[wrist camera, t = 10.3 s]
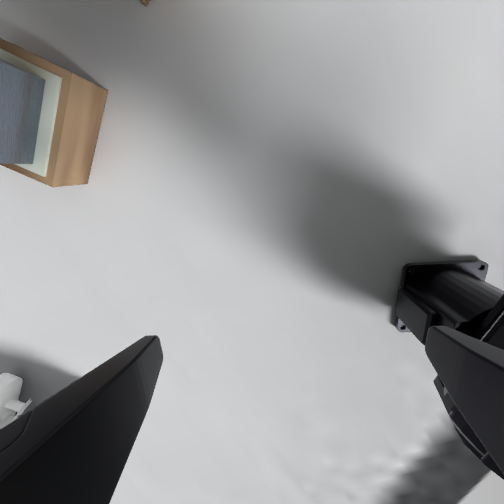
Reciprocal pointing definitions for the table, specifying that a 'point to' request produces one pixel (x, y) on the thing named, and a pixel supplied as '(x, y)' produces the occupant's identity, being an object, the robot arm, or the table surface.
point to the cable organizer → (10, 398)
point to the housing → (19, 113)
